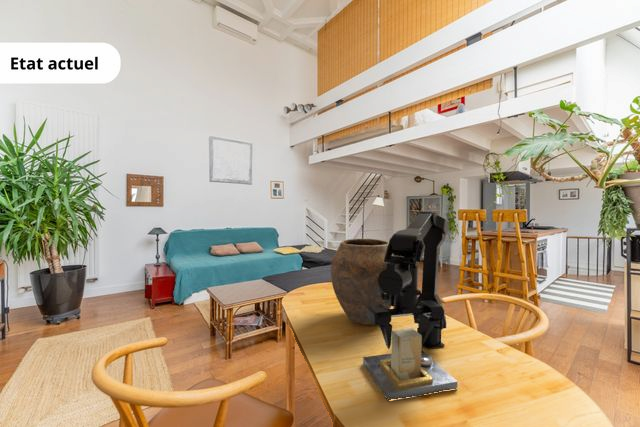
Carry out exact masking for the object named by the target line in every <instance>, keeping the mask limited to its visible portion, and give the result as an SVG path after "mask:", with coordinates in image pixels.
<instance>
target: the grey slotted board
mask: <svg viewBox="0 0 640 427" xmlns="http://www.w3.org/2000/svg"><path fill="white" fill-rule="evenodd" d="M362 365H363V367H364V368H365V369H366V371H367V370H368V371H367V373H368V374H369V373H370V374H369V375H370V377H371V376H372V377H371V379H372V380H373V379H374V380H373V382H374V383H375V382H376V383H377V384H376V383H375V384H376V386H377V385H378V386H379V387H380V389H381V390H382V392H383V393H384V395H385V396H386V397H387V399H388V400H391V399H398V398H406V397H412V396H419V395H424V394H429V393H434V392H439V391H443V390H450V389H456V388H457V389H458V381H457V379H455V378H454V377H453V376H452V375H450V373H448V372H447V371H446V370H445V369H444V368H443V367H442V366H441V365H439V364H438V363H437V362H436V361H435V360H434V359H433V357H432V355H430V354H428V353H426V352H424V350H422V349H421V377H420V378H415V379H409V380H403V381H400V380H399V379H398V378H397V376H396V375H395V374H394V373H393V371H392V370H391V353H386V354H385V353H384V354H378V355H369V356H364V357H362ZM378 386H377V387H378ZM379 387H378V388H379ZM380 389H379V390H380ZM381 390H380V391H381ZM382 392H381V393H382ZM383 393H382V394H383ZM384 395H383V396H384ZM385 396H384V397H385ZM419 397H420V396H419ZM387 399H386V400H387Z"/></svg>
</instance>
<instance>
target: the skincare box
mask: <svg viewBox="0 0 640 427" xmlns="http://www.w3.org/2000/svg"><path fill="white" fill-rule="evenodd" d="M421 344H422V335H420V334H419V333H418V332H417V330H415V329H414V328H412V327H411V328H402V329H395V330H393V329H392V336H391V346H390V348H391V350H390V351H391V370H392V371H393V373H394V374H395V375H396V376H397V378H398V379H399V380H400V381H403V380H409V379H415V378H420V377H421V350H422V345H421Z"/></svg>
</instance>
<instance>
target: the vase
mask: <svg viewBox="0 0 640 427" xmlns="http://www.w3.org/2000/svg"><path fill="white" fill-rule="evenodd" d="M388 244H389V241H387V240H383V239H374V238H349V239H348V238H347V239H344V240H342V241H341V242H340V243H339V245H338V248H337V249H336V251H335V252H334V255H333V256H332V260H331V265H330V266H331V267H330V277H331V285H332V289H333V291H334V294H335V297H336V299H337V301H338V303H339V305H340V307H341V308H342V311H343V312H344V313H345V315H346V317H347V318H348V320H349V321H350V322H352V323H353V324H357V325H363V326H364V325H365V326H376V325H375V324H374V323H373V322H372V321H371V320H370V319H369V318H368V317H367V308H368V307H369V306H373V305H382V306H384V307H385V308H386V309H392V308H391V307H392V306H390V305H389V302H388V303H384V300H378V297H377V288H380V287H379V284H378V277H379V274H380V273H381V272H382V271H383V270H385V269H386V265H387V263H390V262H384V258H385V255H386V251H387V247H388ZM392 256H394V255H393V254H392Z"/></svg>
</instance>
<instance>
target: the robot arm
mask: <svg viewBox="0 0 640 427" xmlns="http://www.w3.org/2000/svg"><path fill="white" fill-rule="evenodd" d="M448 232H449V224H448V221H447V220H446V218H444V217H442V216H440V215H438V214H437V213H436V211H433V210H420V211H417V212H416V216H415V218H414V219H413V220H412V221H411V223H410V224H409V225H408V226H407V227H406V228H404V229H401V230H398V231H396V232H395V233H393V234H392V236H391V237H390V239H389V241H388V242H389V244H388V247H387V251H386V255H385V258H384V262H390V263H387V265H386V269H385V270H383V271H382V272H381V273H380V274H379V277H378V284H379V287H380V288H377V297H378V300H384V303H388V302H389V305H390V306H391V307H392V308H390V309H386V308H385V307H384V306H382V305H373V306H369V307H368V308H367V317H368V318H369V319H370V320H371V321H372V322H373V323H374V324H375V325H374V326H378V328H379V329H380V332H381V334H382V337H383V340H384V343H385V346H386V348H387V349H390V348H391V346H392V331H393V325H392V324H391V322H392V318H396V317H397V318H398V317H407V316H413V323H414V324H417V325H418V327H417V329H416V331H417V332H418V333H419V334H420V335H422V344H421V346H423V348H424V349H427V350H429V349H436V348H442V347H445V344H444V343H443V342H442V331H443V329H447V318H446V315H445V314H446V311H445V309H444V307H443V301H441V298H440V296H439V295H438V283H439V264H440V260H439V259H440V248H441V246H443V244H444V242H445V241H446V236H447V235H448ZM392 254H393V255H394V256H392ZM422 260H423V264H422V265H423V266H422V277H421V278H422V280H421V283H422V284H421V290H420V289H419V284H418V283H419V264H420V263H421V262H422Z"/></svg>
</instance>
